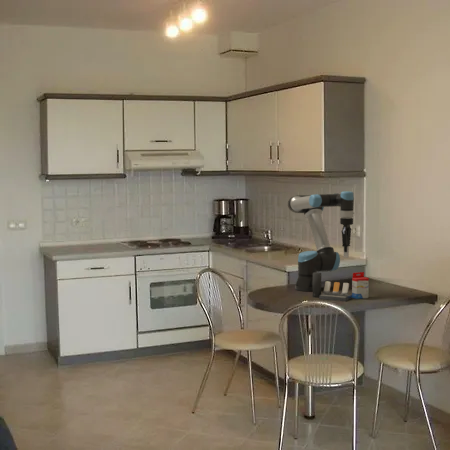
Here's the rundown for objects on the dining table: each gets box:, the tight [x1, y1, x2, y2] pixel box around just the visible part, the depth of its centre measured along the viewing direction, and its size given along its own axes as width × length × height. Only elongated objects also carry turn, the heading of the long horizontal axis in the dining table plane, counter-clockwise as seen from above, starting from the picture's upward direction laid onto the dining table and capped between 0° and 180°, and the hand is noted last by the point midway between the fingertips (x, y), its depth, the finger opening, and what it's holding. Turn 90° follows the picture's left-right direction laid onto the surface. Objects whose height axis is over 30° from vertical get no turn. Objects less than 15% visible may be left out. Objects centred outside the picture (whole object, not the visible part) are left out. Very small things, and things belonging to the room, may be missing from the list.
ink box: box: [351, 271, 370, 300], centre depth 414 cm, size 8×5×15 cm, turn 116°
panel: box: [318, 292, 353, 302], centre depth 412 cm, size 16×11×3 cm
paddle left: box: [323, 281, 332, 293], centre depth 416 cm, size 3×2×7 cm, turn 61°
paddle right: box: [341, 282, 350, 295], centre depth 410 cm, size 3×2×7 cm, turn 61°
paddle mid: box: [332, 281, 341, 294], centre depth 413 cm, size 3×2×7 cm, turn 61°
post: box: [312, 272, 322, 299], centre depth 417 cm, size 5×5×14 cm
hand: (346, 257), depth 422 cm, fingers closed
